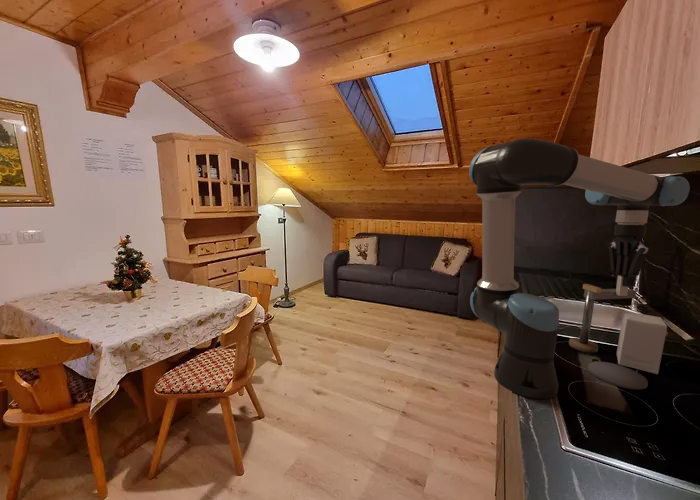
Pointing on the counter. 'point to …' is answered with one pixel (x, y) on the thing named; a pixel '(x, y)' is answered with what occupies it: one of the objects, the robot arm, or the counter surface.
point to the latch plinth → (583, 345)
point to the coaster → (618, 375)
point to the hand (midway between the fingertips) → (621, 295)
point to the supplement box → (641, 341)
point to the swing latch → (591, 295)
